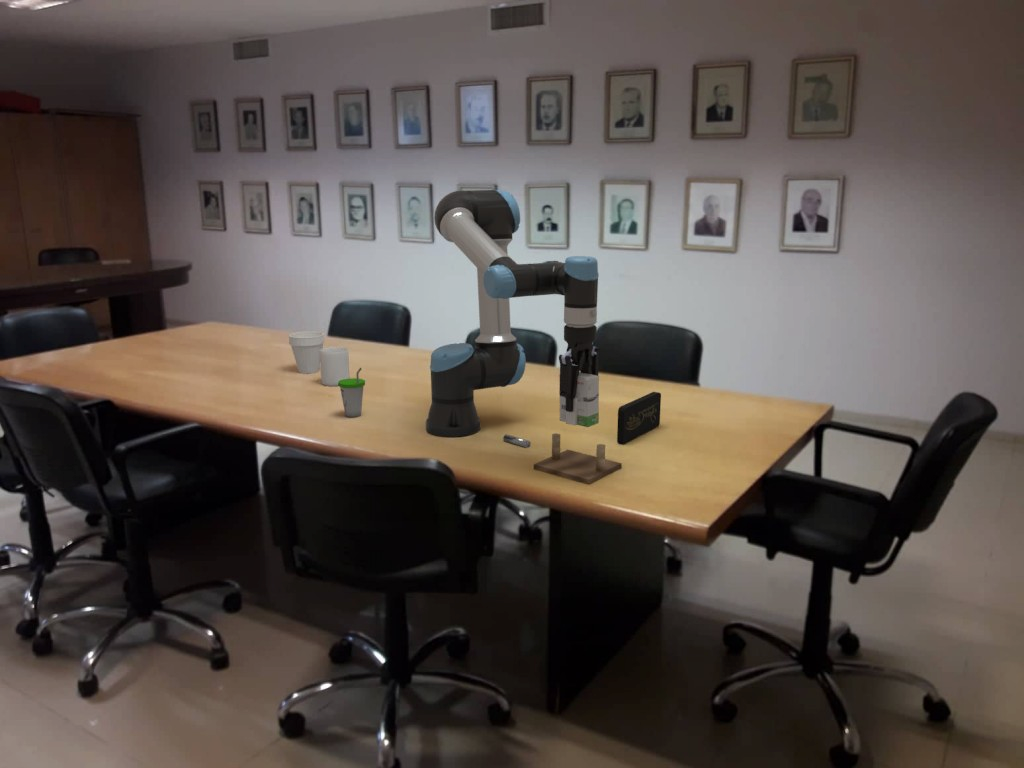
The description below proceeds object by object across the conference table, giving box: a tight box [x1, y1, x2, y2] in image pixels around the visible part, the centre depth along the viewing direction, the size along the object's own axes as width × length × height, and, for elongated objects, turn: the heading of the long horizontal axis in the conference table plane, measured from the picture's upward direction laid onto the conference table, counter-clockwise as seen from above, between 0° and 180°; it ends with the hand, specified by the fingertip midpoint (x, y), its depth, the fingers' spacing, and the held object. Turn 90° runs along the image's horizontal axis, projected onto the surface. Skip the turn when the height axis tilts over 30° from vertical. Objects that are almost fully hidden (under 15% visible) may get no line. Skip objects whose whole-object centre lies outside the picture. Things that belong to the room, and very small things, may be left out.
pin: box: [502, 434, 532, 448], centre depth 213 cm, size 8×2×2 cm
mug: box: [319, 346, 351, 387], centre depth 275 cm, size 10×12×12 cm
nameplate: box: [616, 391, 662, 445], centre depth 220 cm, size 21×2×10 cm, turn 143°
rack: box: [533, 432, 623, 485], centre depth 194 cm, size 16×14×7 cm
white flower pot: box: [288, 330, 325, 375], centre depth 291 cm, size 12×12×14 cm
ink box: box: [558, 371, 600, 428], centre depth 191 cm, size 9×5×12 cm, turn 47°
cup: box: [337, 367, 366, 419], centre depth 237 cm, size 8×8×15 cm
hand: (578, 421), depth 192 cm, fingers closed on ink box, 5 cm apart
